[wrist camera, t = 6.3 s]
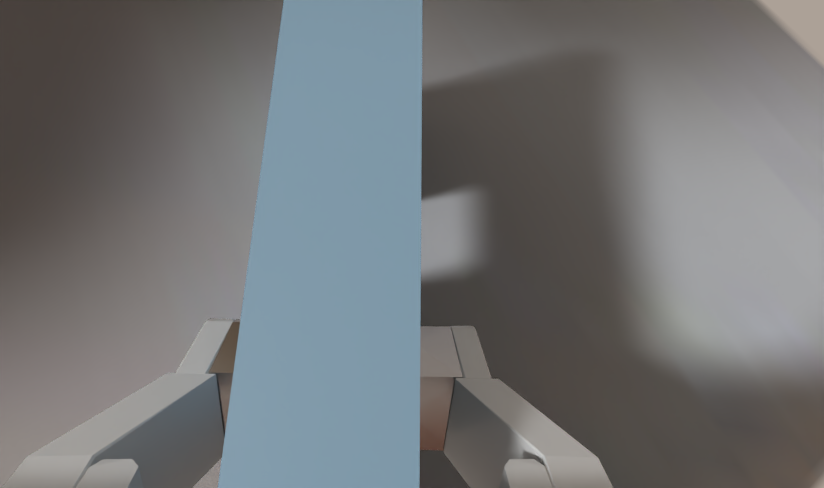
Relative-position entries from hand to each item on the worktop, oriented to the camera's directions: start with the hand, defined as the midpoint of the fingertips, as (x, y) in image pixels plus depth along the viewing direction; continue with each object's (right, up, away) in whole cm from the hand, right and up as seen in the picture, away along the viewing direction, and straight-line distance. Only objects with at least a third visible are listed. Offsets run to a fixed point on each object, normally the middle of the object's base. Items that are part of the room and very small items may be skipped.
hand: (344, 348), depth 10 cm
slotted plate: (-1, +2, +6) cm, 7 cm away
